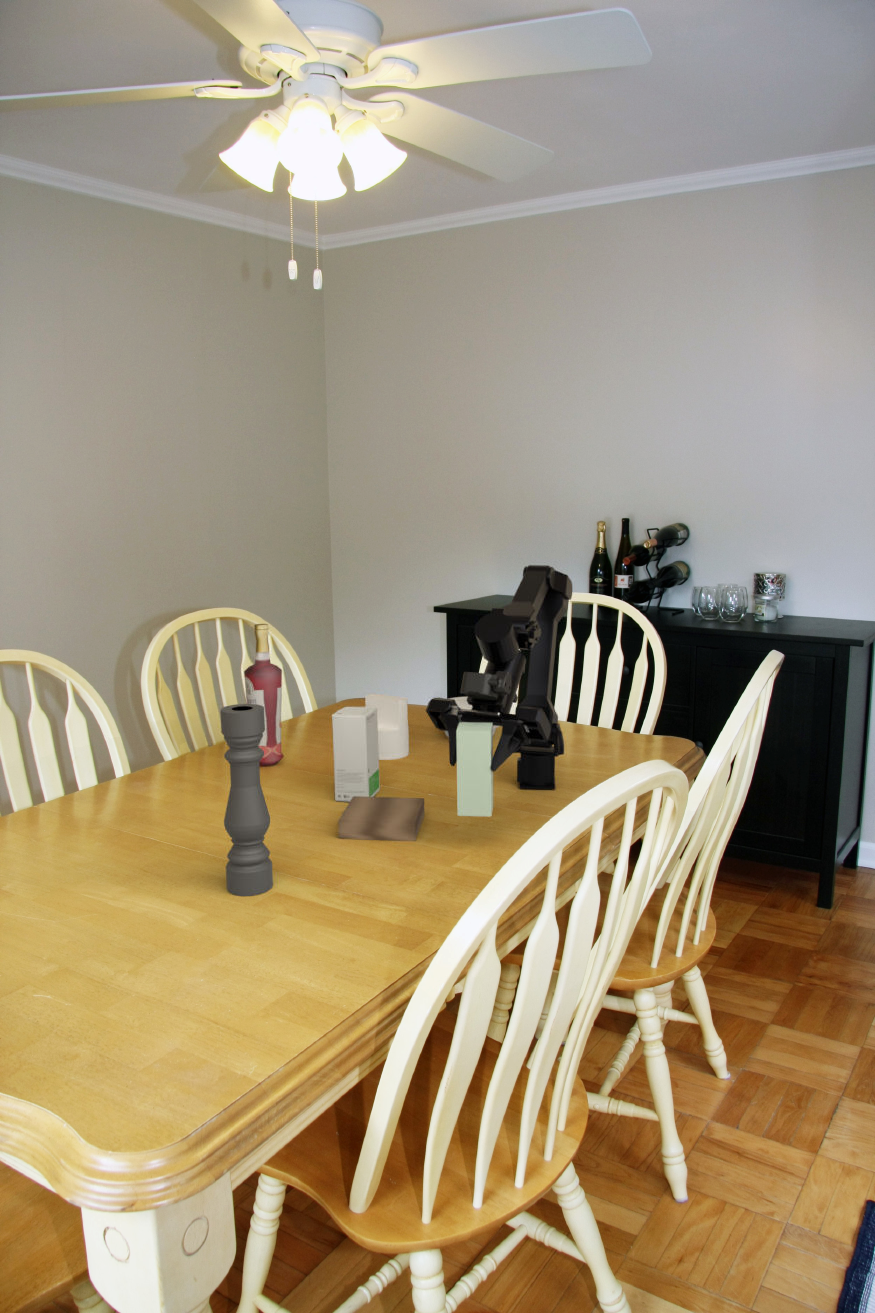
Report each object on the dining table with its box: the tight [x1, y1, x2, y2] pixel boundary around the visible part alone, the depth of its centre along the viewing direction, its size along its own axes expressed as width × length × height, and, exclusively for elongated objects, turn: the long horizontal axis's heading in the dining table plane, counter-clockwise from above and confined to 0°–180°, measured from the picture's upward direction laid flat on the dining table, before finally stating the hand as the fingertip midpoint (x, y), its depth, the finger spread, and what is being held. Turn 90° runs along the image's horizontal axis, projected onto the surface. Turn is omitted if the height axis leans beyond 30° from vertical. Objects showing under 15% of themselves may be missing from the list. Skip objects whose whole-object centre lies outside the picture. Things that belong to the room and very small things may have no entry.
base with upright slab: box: [364, 693, 410, 761], centre depth 196 cm, size 9×9×12 cm
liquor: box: [243, 623, 284, 767], centre depth 188 cm, size 7×7×28 cm
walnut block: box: [337, 796, 425, 842], centre depth 153 cm, size 12×12×3 cm
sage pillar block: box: [456, 722, 494, 817], centre depth 142 cm, size 5×5×13 cm
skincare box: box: [331, 706, 381, 803], centre depth 168 cm, size 8×7×16 cm
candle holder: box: [219, 703, 274, 897], centre depth 128 cm, size 6×6×25 cm
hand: (471, 767), depth 141 cm, fingers closed on sage pillar block, 6 cm apart
